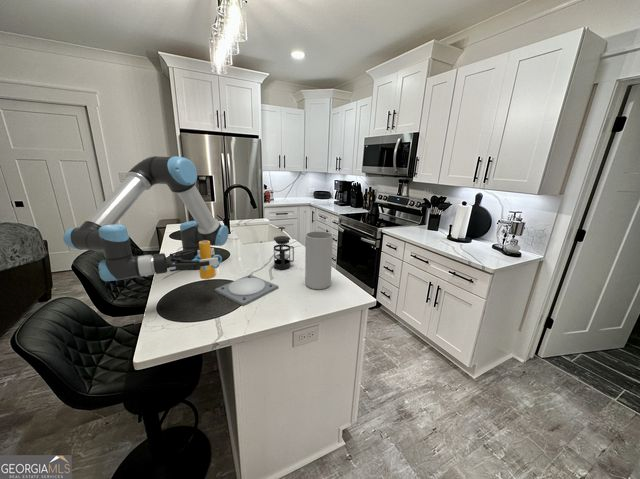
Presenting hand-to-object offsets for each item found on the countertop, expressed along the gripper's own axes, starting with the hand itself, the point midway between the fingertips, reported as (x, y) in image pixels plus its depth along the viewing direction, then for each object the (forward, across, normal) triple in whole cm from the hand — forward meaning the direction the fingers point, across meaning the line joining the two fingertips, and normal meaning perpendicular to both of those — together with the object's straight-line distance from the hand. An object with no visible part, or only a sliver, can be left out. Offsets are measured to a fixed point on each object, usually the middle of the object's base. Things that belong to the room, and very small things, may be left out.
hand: (216, 255), depth 105 cm
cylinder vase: (+44, +8, -19) cm, 49 cm away
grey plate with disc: (+12, -1, -19) cm, 22 cm away
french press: (+36, -20, -19) cm, 45 cm away
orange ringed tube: (-4, 0, -9) cm, 10 cm away
